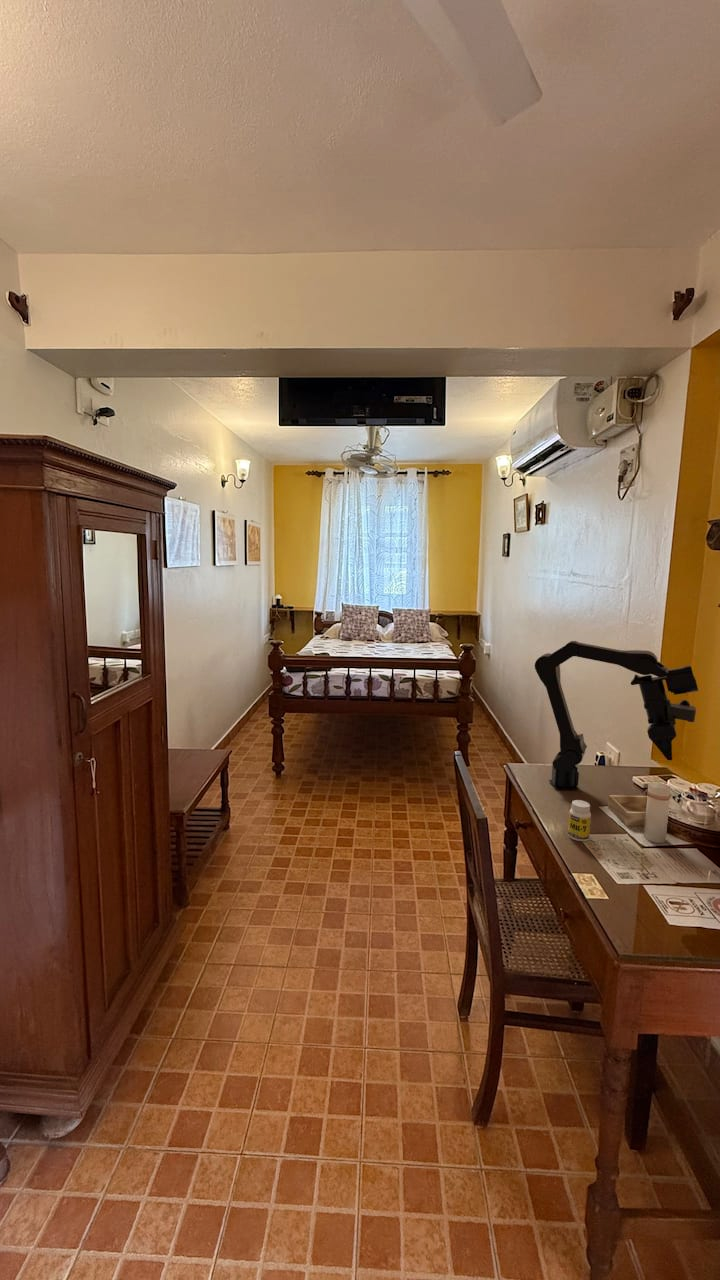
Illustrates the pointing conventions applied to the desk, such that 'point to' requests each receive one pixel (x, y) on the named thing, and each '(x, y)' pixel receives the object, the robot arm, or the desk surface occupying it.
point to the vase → (657, 812)
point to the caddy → (629, 809)
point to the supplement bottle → (579, 821)
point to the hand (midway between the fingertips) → (669, 754)
